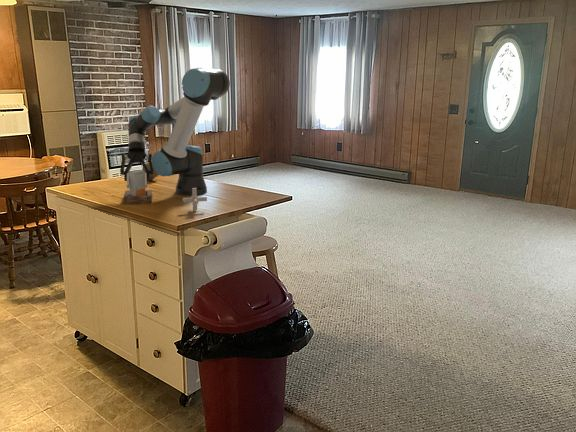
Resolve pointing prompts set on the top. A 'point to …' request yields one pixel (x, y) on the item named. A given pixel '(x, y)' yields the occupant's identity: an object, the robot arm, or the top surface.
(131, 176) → the skincare box
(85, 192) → the top surface
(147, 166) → the natural sponge
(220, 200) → the top surface
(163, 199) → the top surface
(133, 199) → the socket
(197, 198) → the pipe connector
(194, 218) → the top surface
